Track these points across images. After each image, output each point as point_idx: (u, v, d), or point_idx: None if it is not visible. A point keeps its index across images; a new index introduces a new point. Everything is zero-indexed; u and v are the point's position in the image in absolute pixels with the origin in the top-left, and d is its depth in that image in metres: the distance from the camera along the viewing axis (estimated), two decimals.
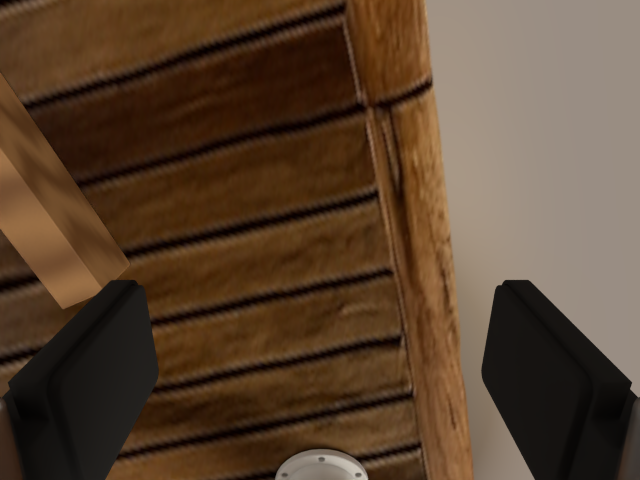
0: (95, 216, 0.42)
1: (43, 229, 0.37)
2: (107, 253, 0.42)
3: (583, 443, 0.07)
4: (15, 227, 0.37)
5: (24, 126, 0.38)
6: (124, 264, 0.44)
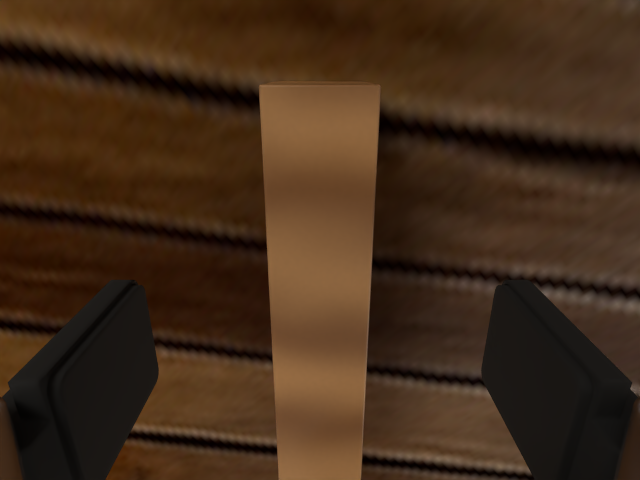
0: None
1: (293, 259, 0.19)
2: None
3: (583, 443, 0.07)
4: (341, 282, 0.19)
5: None
6: None
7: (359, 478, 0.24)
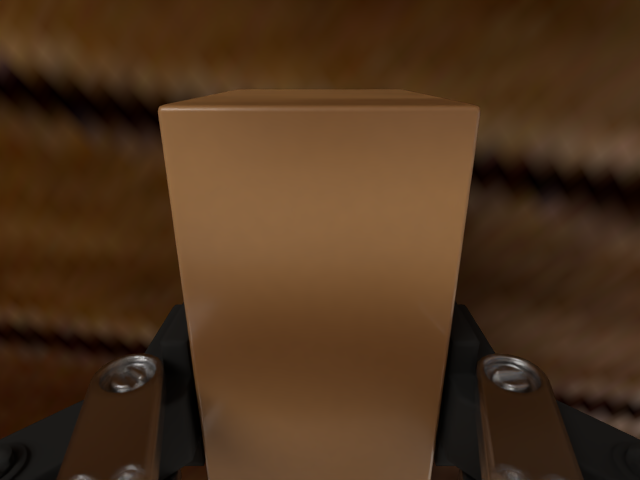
0: None
1: (262, 477, 0.09)
2: None
3: (445, 398, 0.08)
4: None
5: None
6: None
7: None
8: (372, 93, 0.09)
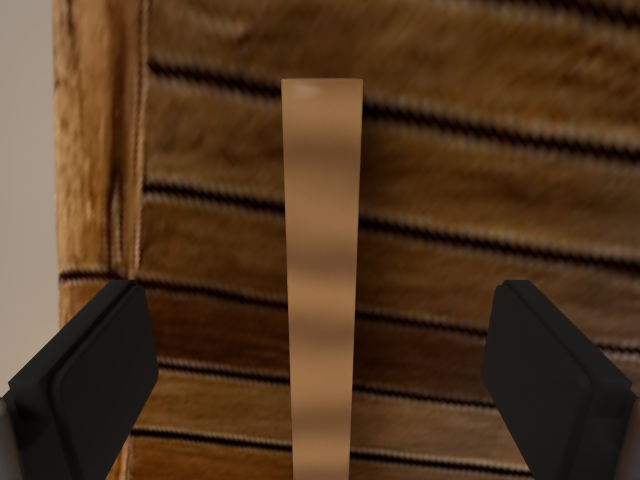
0: None
1: (303, 203, 0.27)
2: None
3: (583, 443, 0.07)
4: (337, 220, 0.27)
5: None
6: None
7: (351, 376, 0.32)
8: None
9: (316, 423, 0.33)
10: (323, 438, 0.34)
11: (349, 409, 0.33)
